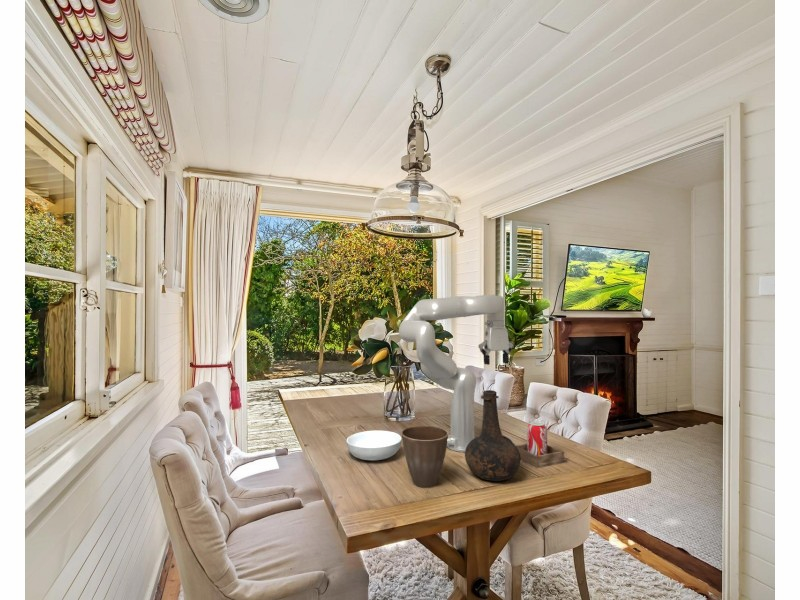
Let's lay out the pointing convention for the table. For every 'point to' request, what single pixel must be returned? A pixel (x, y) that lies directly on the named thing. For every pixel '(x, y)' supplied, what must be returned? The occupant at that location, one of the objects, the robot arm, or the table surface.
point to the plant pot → (424, 453)
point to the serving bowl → (374, 444)
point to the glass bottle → (492, 446)
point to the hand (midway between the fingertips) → (496, 363)
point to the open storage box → (541, 456)
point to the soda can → (537, 438)
